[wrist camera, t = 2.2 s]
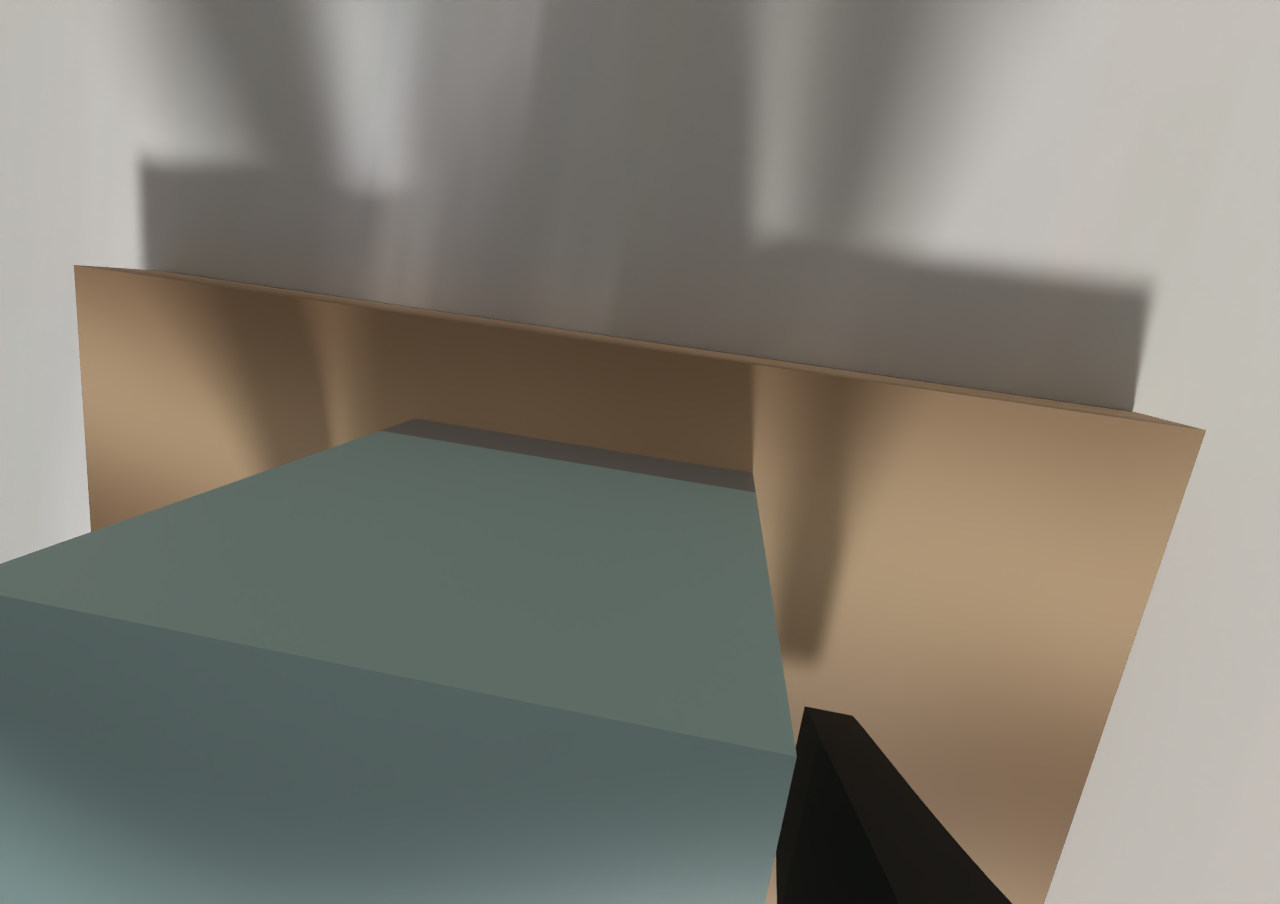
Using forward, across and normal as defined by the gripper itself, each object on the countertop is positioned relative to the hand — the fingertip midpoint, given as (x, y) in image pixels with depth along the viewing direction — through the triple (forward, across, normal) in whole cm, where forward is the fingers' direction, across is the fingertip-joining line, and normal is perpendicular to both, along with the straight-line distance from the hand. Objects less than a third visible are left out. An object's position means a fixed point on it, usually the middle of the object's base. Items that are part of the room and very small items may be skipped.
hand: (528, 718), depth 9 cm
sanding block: (+2, 0, 0) cm, 2 cm away
